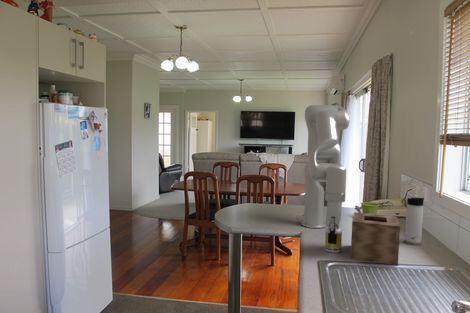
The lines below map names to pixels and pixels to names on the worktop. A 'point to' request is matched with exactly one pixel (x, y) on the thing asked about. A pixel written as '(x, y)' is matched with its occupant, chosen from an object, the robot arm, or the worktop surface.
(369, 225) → the box
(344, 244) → the worktop surface
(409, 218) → the travel mug
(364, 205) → the plant pot
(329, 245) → the pill bottle
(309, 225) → the robot arm
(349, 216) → the worktop surface
